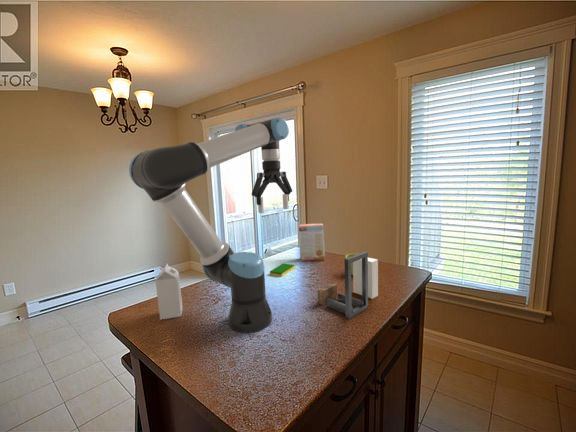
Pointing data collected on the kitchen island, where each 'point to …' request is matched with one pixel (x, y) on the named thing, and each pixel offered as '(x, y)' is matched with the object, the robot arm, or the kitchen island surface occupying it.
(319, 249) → the cracker box
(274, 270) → the dish sponge
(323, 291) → the offcut stack
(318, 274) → the kitchen island surface
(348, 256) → the plant pot
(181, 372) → the kitchen island surface
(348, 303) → the frame
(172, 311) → the milk carton
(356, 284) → the white block
